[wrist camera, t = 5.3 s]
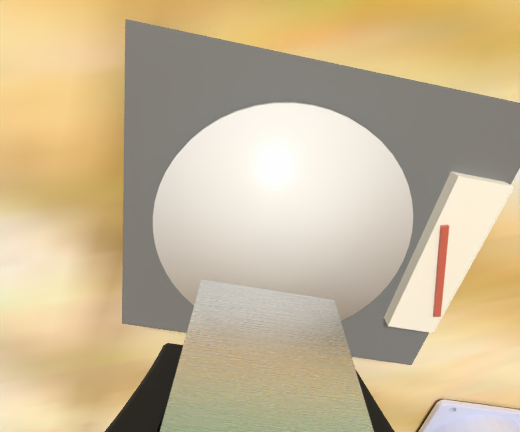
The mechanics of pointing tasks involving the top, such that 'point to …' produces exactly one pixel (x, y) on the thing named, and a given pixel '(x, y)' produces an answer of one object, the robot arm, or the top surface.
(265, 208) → the scale
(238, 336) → the block
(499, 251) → the top surface
